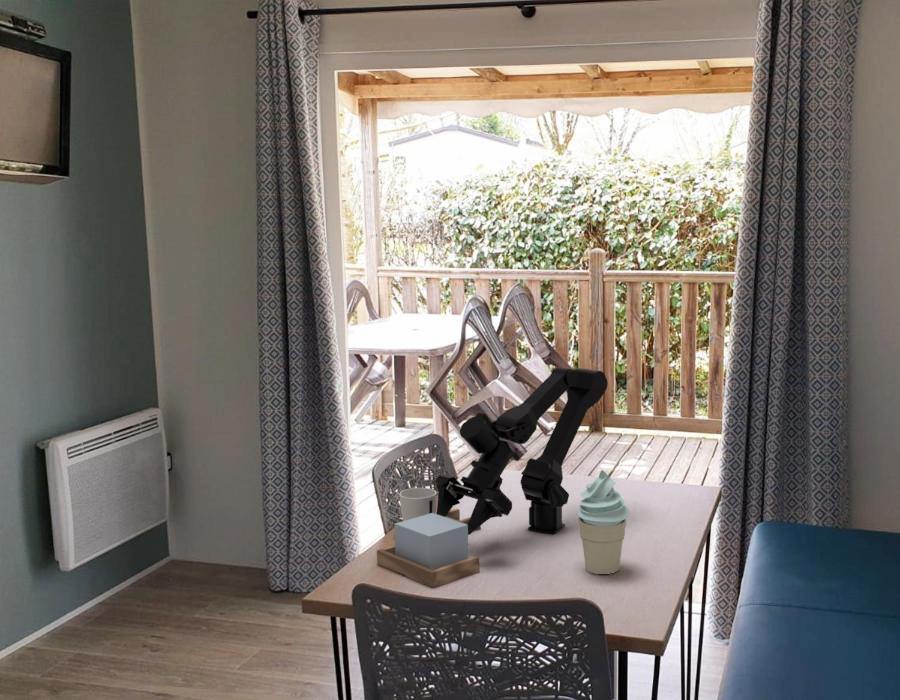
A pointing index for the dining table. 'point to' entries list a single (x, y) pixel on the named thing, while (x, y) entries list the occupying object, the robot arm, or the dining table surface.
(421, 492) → the cup
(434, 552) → the tea caddy
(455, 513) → the narrow slot
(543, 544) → the dining table surface
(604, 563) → the ice cream cone
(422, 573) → the bay
